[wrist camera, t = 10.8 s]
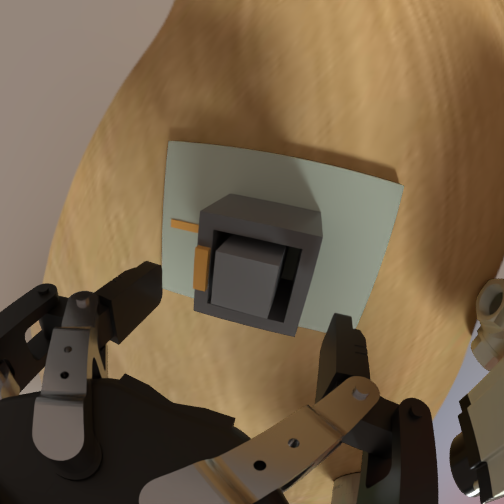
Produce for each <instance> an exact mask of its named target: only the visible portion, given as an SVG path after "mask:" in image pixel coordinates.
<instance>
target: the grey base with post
mask: <svg viewBox="0 0 504 504" xmlns="http://www.w3.org/2000/svg"><path fill="white" fill-rule="evenodd" d="M403 189H404V186H403V185H401V184H398V183H395V182H392V181H389V180H385V179H382V178H379V177H375V176H372V175H368V174H364V173H361V172H357V171H353V170H349V169H345V168H341V167H337V166H333V165H329V164H325V163H320V162H316V161H311V160H306V159H302V158H297V157H291V156H286V155H281V154H275V153H270V152H264V151H258V150H251V149H244V148H237V147H230V146H222V145H214V144H205V143H195V142H183V141H169V142H168V151H167V162H166V173H165V187H164V204H163V228H162V288H163V289H166V290H169V291H172V292H175V293H179V294H182V295H185V296H188V297H191V298H194V292H195V289H193V274H194V257H195V247H196V246H197V242H198V229H199V217H200V211H201V210H203V209H204V208H206V207H208V206H209V205H211V204H213V203H214V202H216V201H218V200H220V199H221V198H223V197H225V196H226V195H228V194H236V195H241V196H247V197H252V198H257V199H262V200H267V201H272V202H277V203H282V204H287V205H291V206H296V207H300V208H305V209H309V210H314V211H318V212H321V218H322V230H323V239H322V243H321V247H320V251H319V255H318V259H317V263H316V266H315V270H314V274H313V277H312V281H311V284H310V288H309V291H308V295H307V298H306V301H305V305H304V308H303V311H302V315H301V318H300V321H299V324H298V326H299V327H303V328H307V329H312V330H316V331H321V332H325V333H326V332H327V330H328V327H329V325H330V322H331V319H332V317H333V315H334V313H339V314H343V315H348V316H351V317H352V325H353V329H356V327H357V324H358V322H359V320H360V317H361V315H362V313H363V310H364V308H365V306H366V303H367V301H368V298H369V296H370V293H371V290H372V288H373V285H374V283H375V280H376V277H377V275H378V272H379V269H380V266H381V263H382V260H383V258H384V255H385V252H386V249H387V245H388V242H389V239H390V236H391V233H392V229H393V226H394V223H395V219H396V216H397V212H398V208H399V205H400V201H401V197H402V193H403ZM299 251H300V249H299V248H295V247H290V246H286V245H282V244H277V243H273V242H268V241H264V240H259V239H255V238H250V237H245V236H241V235H236V234H232V235H231V236H230V237H229V238H228V239H227V240H226V241H225V242H224V243H223V244H222V245H221V246H220V247H219V248H218V249H217V250H216V254H215V264H214V275H213V285H212V297H211V304H214V305H218V306H221V307H225V308H228V309H232V310H235V311H239V312H243V313H246V314H250V315H254V316H258V317H262V318H265V319H267V318H268V315H269V312H270V309H271V306H272V303H273V300H274V297H275V294H276V291H277V288H278V285H279V282H280V279H281V278H283V279H287V280H291V281H292V280H293V276H294V272H295V267H296V263H297V259H298V255H299Z"/></svg>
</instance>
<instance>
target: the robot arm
mask: <svg viewBox="0 0 504 504" xmlns="http://www.w3.org/2000/svg"><path fill="white" fill-rule="evenodd" d="M161 299H162V267H161V265H158V264H155V263H152V262H149V261H145V262H143V263H142V264H141V265H139V266H138V267H136V268H132V269H129V270H126V271H124V272H123V273H121V274H120V275H119V276H118V277H116V278H114V279H113V281H110V282H108V283H107V284H106V285H104V286H103V287H101V288H100V289H99V290H97V291H96V292H94V293H93V292H89V291H81V292H77V293H74V294H73V295H71V296H70V297H69V298H66V297H62V296H58V292H57V288H56V286H55V285H53V284H41V285H38V286H36V287H35V288H33V289H32V290H30V291H29V292H28V293H26V294H25V295H23V296H22V297H20V298H19V299H18V300H16V301H15V302H13V303H12V304H11V305H9V306H8V307H7V308H5V309H4V310H3V311H1V312H0V504H289V503H288V501H287V500H286V498H285V496H284V494H283V492H285V491H286V490H288V489H289V488H290V487H292V486H293V485H294V484H296V483H297V482H298V481H300V480H301V479H302V478H303V477H305V476H306V475H307V474H308V473H309V472H310V471H312V470H313V469H314V468H315V467H316V466H318V465H319V464H320V463H321V462H322V461H323V460H325V459H326V458H327V457H328V456H329V455H330V454H331V453H333V452H334V451H335V450H336V449H337V448H338V447H339V446H340V445H341V444H342V443H345V444H348V445H350V446H352V447H355V448H357V449H360V450H362V451H363V455H362V465H361V473H355V474H350V475H346V476H342V477H340V478H338V479H336V480H335V481H334V486H333V492H332V493H333V494H332V501H331V504H438V473H437V459H436V447H435V438H434V431H433V423H432V417H431V412H430V409H429V408H428V406H427V405H426V404H425V403H424V402H422V401H421V400H419V399H416V398H407V399H405V400H403V401H402V402H401V403H400V405H399V404H396V403H394V402H391V401H389V400H386V399H384V398H383V397H381V396H380V392H379V389H378V387H377V386H376V384H375V383H374V382H372V381H371V380H370V371H369V362H368V356H367V349H366V347H367V346H366V339H365V337H364V336H363V334H362V333H361V331H360V330H357V329H353V325H352V317H351V316H348V315H343V314H339V313H334V315H333V317H332V319H331V322H330V325H329V327H328V330H327V332H326V335H325V337H324V340H323V343H322V346H321V350H320V359H319V371H318V381H317V390H316V399H315V405H313V406H312V407H310V406H309V405H305V406H303V407H302V408H300V409H298V410H297V411H296V412H294V413H293V414H291V415H290V416H288V417H287V418H285V419H283V420H282V421H280V422H279V423H277V424H276V425H274V426H272V427H271V428H269V429H267V430H266V431H264V432H262V433H261V434H259V435H257V436H256V437H254V438H252V439H251V438H250V437H248V436H247V435H246V434H245V433H244V432H242V431H241V430H239V429H238V428H236V427H234V422H235V418H234V417H230V416H227V415H224V414H221V413H218V412H215V411H212V410H209V409H206V408H201V407H194V406H188V405H182V404H176V403H173V402H171V401H169V400H168V399H167V398H165V397H164V396H163V395H161V394H160V393H159V392H157V391H156V390H155V389H153V388H152V387H151V386H149V385H148V384H146V383H143V382H141V381H139V380H137V379H135V378H133V377H131V376H129V375H127V374H124V375H123V376H122V378H121V379H120V380H118V379H112V378H108V346H107V342H108V341H109V340H111V341H113V342H115V343H117V344H120V343H121V342H122V341H123V340H124V339H125V338H126V337H127V336H128V335H129V334H130V333H131V332H132V331H133V330H134V329H135V328H136V327H137V326H138V325H139V324H140V323H141V322H142V321H143V320H144V319H145V318H146V317H147V316H148V315H149V314H150V313H151V312H152V311H153V310H154V309H155V308H156V307H157V306H158V305H159V303H160V301H161ZM38 320H39V323H40V326H41V329H42V330H41V331H40V332H39V333H38V334H37V335H35V336H34V337H33V338H32V339H31V340H30V341H29V342H28V343H26V341H25V332H26V330H27V329H28V328H29V327H31V326H32V325H33V324H34V323H35V322H37V321H38ZM44 367H45V371H44V376H43V383H42V390H41V391H39V392H33V393H28V394H22V395H19V393H20V392H21V391H22V390H23V389H24V388H25V387H26V386H27V384H28V383H29V382H30V381H31V380H32V379H33V378H34V377H35V376H36V375H37V374H38V373H39V372H40V371H41V370H42V369H43V368H44Z"/></svg>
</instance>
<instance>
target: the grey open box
mask: <svg viewBox="0 0 504 504" xmlns="http://www.w3.org/2000/svg"><path fill="white" fill-rule="evenodd" d="M232 234H236V235H241V236H245V237H250V238H255V239H259V240H264V241H268V242H273V243H277V244H282V245H286V246H290V247H295V248H299V249H300V251H299V255H298V259H297V263H296V267H295V272H294V276H293V280H292V281H291V280H287V279H283V278H281V279H280V282H279V285H278V288H277V291H276V294H275V297H274V300H273V303H272V306H271V309H270V312H269V315H268V318H267V319H265V318H262V317H258V316H254V315H250V314H246V313H243V312H239V311H235V310H232V309H228V308H225V307H221V306H218V305H214V304H211V297H212V285H213V275H214V264H215V254H216V250H217V249H218V248H219V247H220V246H221V245H222V244H223V243H224V242H225V241H226V240H227V239H228V238H229V237H230V236H231V235H232ZM322 239H323V230H322V218H321V212H318V211H314V210H309V209H305V208H300V207H296V206H291V205H287V204H282V203H277V202H272V201H267V200H262V199H257V198H252V197H247V196H241V195H236V194H228V195H226V196H225V197H223V198H221V199H220V200H218V201H216V202H214V203H213V204H211V205H209V206H208V207H206V208H204V209H203V210H201V211H200V217H199V229H198V242H197V246H196V247H195V257H194V274H193V289H195V292H194V311H197V312H200V313H204V314H207V315H211V316H214V317H218V318H221V319H225V320H228V321H232V322H236V323H240V324H243V325H247V326H251V327H255V328H259V329H263V330H267V331H271V332H275V333H280V334H284V335H288V336H293V337H295V334H296V331H297V328H298V324H299V321H300V318H301V315H302V311H303V308H304V305H305V301H306V298H307V295H308V291H309V288H310V284H311V281H312V277H313V274H314V270H315V266H316V263H317V259H318V255H319V251H320V247H321V243H322Z"/></svg>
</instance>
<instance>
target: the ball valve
mask: <svg viewBox="0 0 504 504" xmlns="http://www.w3.org/2000/svg"><path fill="white" fill-rule="evenodd" d="M476 314H477V320H479V321H480V324H481V326H480V328H479V329H478V330H477V332H478V335H477V337H476V338H475V339H474V340H473V341H472V343H471V349H472V352H473V354H474V356H475V357H476V359H477V360H478V362H479V363H480V364H481V365H482V366H483V367H484V368H485V369H486V370H488V371H490V372H489V373H488V374H487V375H486V376H485V377H484V378H483V379H482V380H481V381H480V382H479V383H478V384H477V385H476V386H475V387H474V388H473V389H472V390H471V391H470V392H469V393H468V394H467V395H465V396H464V397H463V398H462V399H461V400H460V401H459V403H460V406H461V410H462V413H461V414H459V415H458V419H459V423H460V426H461V430H462V432H461V433H460V434H458V435H457V436H456V437H455V438H454V439H453V441H452V444H451V448H450V467H451V472H452V475H453V478H454V480H455V483H456V484H457V486H458V488H459V489H460V490H461V492H462V493H464V494H465V495H467V496H469V497H477V496H479V495H480V502H481V504H485V503H488V502H491V501H494V500H496V499H499V498H502V497H504V279H490V280H489V281H488V282H487V283H486V284H485V286H484V287H483V288H482V290H481V291H480V293H479V295H478V297H477V299H476Z"/></svg>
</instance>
